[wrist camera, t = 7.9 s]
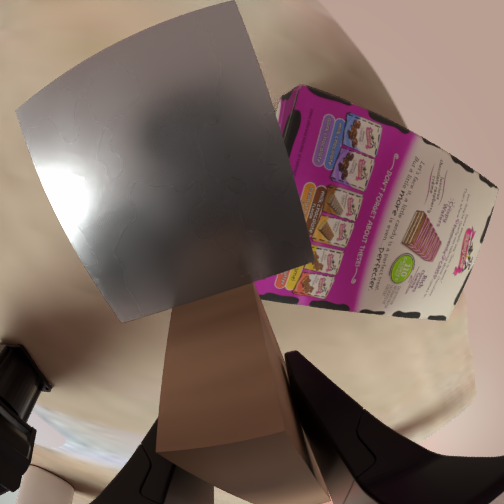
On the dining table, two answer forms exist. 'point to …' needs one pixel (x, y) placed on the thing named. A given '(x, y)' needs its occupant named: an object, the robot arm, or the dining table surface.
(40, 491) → the cylinder vase
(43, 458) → the dining table surface
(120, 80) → the turner
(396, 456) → the robot arm
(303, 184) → the candy bar box
